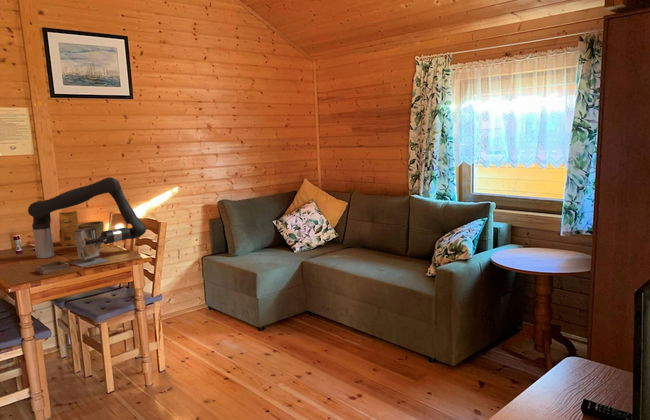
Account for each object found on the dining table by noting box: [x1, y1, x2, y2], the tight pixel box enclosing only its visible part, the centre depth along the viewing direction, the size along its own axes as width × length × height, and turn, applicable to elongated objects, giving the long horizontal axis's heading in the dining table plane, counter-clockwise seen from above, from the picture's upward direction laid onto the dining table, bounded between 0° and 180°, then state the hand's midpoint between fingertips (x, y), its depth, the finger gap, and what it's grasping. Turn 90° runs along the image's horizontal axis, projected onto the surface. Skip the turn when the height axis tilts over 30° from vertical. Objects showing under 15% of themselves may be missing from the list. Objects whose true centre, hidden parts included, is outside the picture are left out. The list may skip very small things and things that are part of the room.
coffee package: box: [58, 209, 80, 247], centre depth 323 cm, size 10×12×22 cm
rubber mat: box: [68, 256, 109, 268], centre depth 276 cm, size 15×15×1 cm
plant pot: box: [77, 220, 105, 249], centre depth 309 cm, size 15×15×16 cm
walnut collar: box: [35, 260, 71, 275], centre depth 262 cm, size 10×13×3 cm
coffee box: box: [74, 228, 100, 260], centre depth 274 cm, size 9×6×16 cm
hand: (82, 242), depth 273 cm, fingers closed on coffee box, 7 cm apart
